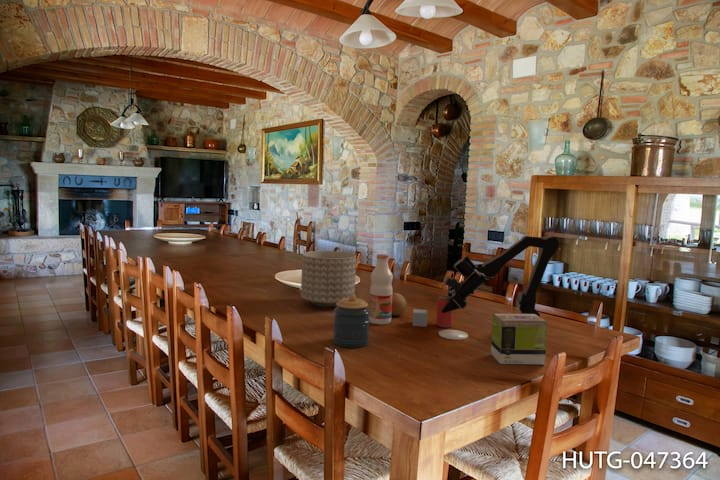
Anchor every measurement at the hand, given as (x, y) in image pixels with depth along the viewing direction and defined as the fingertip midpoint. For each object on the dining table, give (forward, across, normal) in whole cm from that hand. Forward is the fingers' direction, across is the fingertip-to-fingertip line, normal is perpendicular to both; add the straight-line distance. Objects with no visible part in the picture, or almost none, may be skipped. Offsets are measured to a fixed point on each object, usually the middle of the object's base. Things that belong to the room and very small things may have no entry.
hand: (441, 309), depth 193 cm
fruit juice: (+22, 0, -13) cm, 26 cm away
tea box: (-11, +35, +21) cm, 42 cm away
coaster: (+2, +12, +7) cm, 15 cm away
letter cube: (+11, 0, -1) cm, 11 cm away
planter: (+41, -23, -31) cm, 56 cm away
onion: (+18, -11, -9) cm, 23 cm away
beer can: (+4, 0, +6) cm, 7 cm away
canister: (+29, +29, -19) cm, 45 cm away
